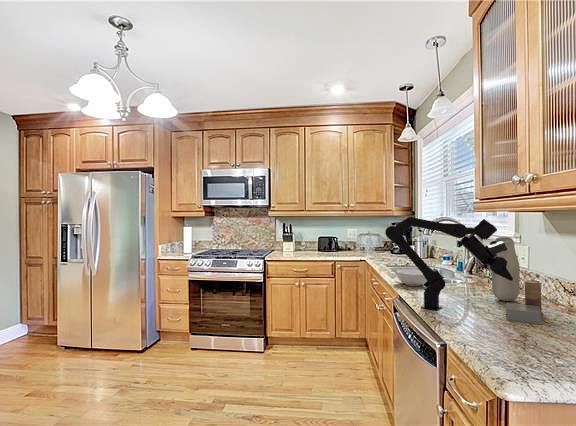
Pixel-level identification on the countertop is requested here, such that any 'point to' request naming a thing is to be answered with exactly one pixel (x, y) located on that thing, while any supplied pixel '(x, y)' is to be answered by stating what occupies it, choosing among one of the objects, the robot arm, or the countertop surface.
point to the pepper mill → (533, 293)
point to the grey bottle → (503, 286)
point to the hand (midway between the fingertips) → (507, 277)
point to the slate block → (523, 313)
